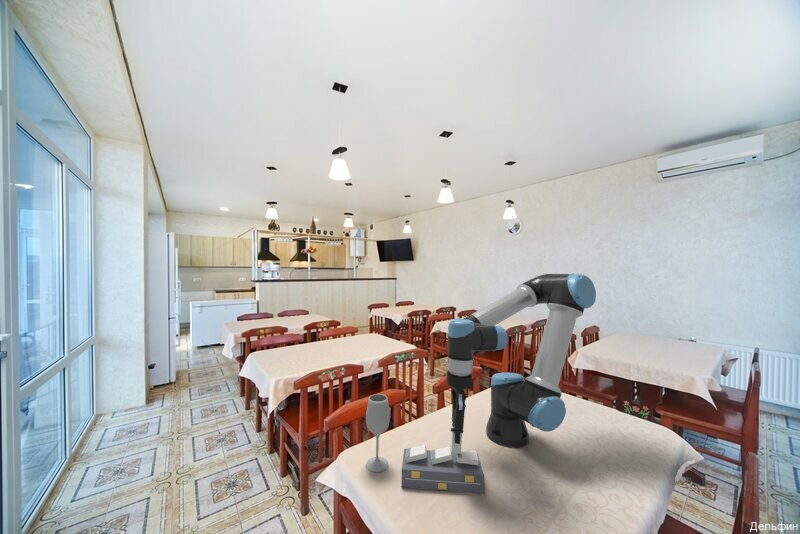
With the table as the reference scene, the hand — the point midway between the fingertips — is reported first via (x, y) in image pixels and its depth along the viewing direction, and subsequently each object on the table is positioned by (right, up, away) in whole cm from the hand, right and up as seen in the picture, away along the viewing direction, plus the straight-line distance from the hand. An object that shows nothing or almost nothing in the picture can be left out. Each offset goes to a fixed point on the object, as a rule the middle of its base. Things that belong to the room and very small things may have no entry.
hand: (456, 451), depth 88 cm
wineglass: (-24, -8, +6) cm, 26 cm away
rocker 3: (+3, -1, 0) cm, 3 cm away
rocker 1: (-12, -1, +1) cm, 12 cm away
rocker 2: (-4, -1, 0) cm, 5 cm away
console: (-4, -8, 0) cm, 9 cm away
